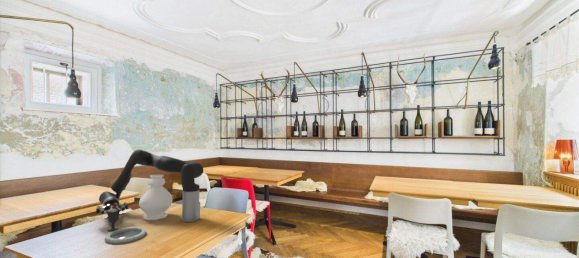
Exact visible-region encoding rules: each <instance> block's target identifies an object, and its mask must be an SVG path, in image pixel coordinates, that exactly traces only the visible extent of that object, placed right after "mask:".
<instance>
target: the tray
mask: <svg viewBox="0 0 579 258" xmlns="http://www.w3.org/2000/svg"><path fill="white" fill-rule="evenodd" d="M146 236H147V230H146V228H145V227H142V226H129V227H123V228H119V229H118V230H115V231H113V232H109V233H108V234H106V235H105V238H104V242H105V243H106V244H107V245H121V244H128V243H132V242H136V241H139V240H141V239H143V238H144V237H146Z"/></svg>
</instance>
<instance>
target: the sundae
mask: <svg viewBox="0 0 579 258" xmlns="http://www.w3.org/2000/svg"><path fill="white" fill-rule="evenodd" d="M120 212H122V210H121V209H120V208H118V206H117V205H116V204H115V202H114V204H113V206H111V208H110V209H109V210H107V211H106V212H105V213H106V215H107V220H108V223H110V224H111V227H110V228H109V229H107V231H106V232H109V233H110V232H113V231H115V230H118V229H120V228H119V227H116V226H115V225H116V223H117V222H118V221H119V216H120Z"/></svg>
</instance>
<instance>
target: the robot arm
mask: <svg viewBox="0 0 579 258" xmlns="http://www.w3.org/2000/svg"><path fill="white" fill-rule="evenodd" d="M136 165H139V166H145V167H146V166H147V167H153V168H155V169H157V170H160V171H163V172H165V173H166V172H167V173H176V174H177V173H179V174H180V175H181V176H180V177H181V180H180V181H181V183H180V184H181V188H182V209H181V210H182V211H181V213H182V215H181V221H182V222H183V223H192V222H193V223H194V222H196V221H199V219H200V217H201V201H200V184H199V183H196V182H195V179H197V178H200V177H201V176H202V175H203V174H204V167H203V166H202V164H200V163H198V162H193V161H187V160H181V159H179V158H175V157H171V156H169V155H168V156H167V155H156V154H153V153H151V152H149V151H145V150H143V149H139V148H138V149H136V150H134V151H133V152H132V153H131V155H130V156H129V158H128V160H127V162H126V163H125V166H124V167H123V169H122V171H121V172H120V175H118V177H117V178H116V179H115V181H114V182H113V183H112V184H111V187H110V189H111V191H113V192H114V193H113V192H111V191H104V192H101V193H100V195H99V196H98V202H99V204H100V203H101V204H102V206H100V205H97V206H96V208H95V214H98V215H99V213H100V214H102V215H105V213H106V211H107V210H109V209H110V208H111V206H113V204H114V202H115V204H116V205H117V206H118V208H120V209H121V212H124V211H125V210H128V209H129V204H128V203H127V202H126V201H125V202H124V203H120V202H119V201H120V199H121V195H122V193H123V191H124V190H125V189H126V187H128V186H127V185H129V183H130V181H131V179H132V178H131V176H132V172H133V169H134V167H135V166H136Z"/></svg>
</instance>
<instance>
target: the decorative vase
mask: <svg viewBox="0 0 579 258" xmlns="http://www.w3.org/2000/svg"><path fill="white" fill-rule="evenodd" d="M164 177H165V175H164V174H162V173H161V174H160V173H158V174H150V175H149V178H150V179H149V180H147V181H148V182H147V184H148V186H150V187H149V188H148V189H147V190H145V192H144V193H143V194H142V195H141V197H140V199H139V201H138V206H139V208H140V209H141V211H142V212H143V213H144V214H145V215H144V216H143V219H144V220H145V221H157V220H162V219H164V218H167V216H168V213H167V211H168V209H169V208H170V207H171V206H172V204H173V196H172V195H171V193H170V192H169V190H168V189H167V188H165V187H164V185H165V183H166V179H165V178H164Z"/></svg>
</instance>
